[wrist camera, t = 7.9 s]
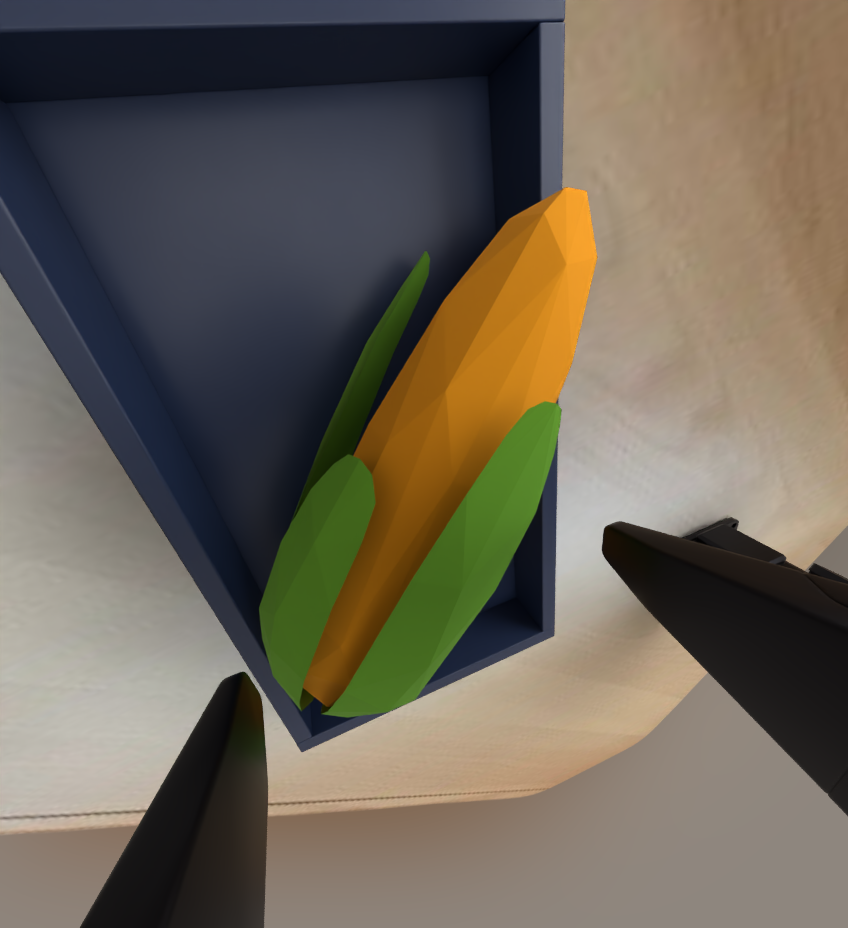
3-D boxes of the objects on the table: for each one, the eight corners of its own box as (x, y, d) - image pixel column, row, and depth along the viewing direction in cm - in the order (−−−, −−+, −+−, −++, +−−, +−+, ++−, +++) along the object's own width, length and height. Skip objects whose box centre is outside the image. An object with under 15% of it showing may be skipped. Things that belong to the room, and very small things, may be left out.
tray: (521, 594, 24) (554, 636, 21) (298, 688, 21) (301, 753, 18) (498, 51, 12) (566, -26, 9) (-38, 72, 9) (-198, -37, 6)
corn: (207, 824, 10) (600, -59, 5) (229, 615, 17) (413, 127, 11) (425, 779, 14) (784, 242, 9) (375, 622, 20) (565, 256, 15)
